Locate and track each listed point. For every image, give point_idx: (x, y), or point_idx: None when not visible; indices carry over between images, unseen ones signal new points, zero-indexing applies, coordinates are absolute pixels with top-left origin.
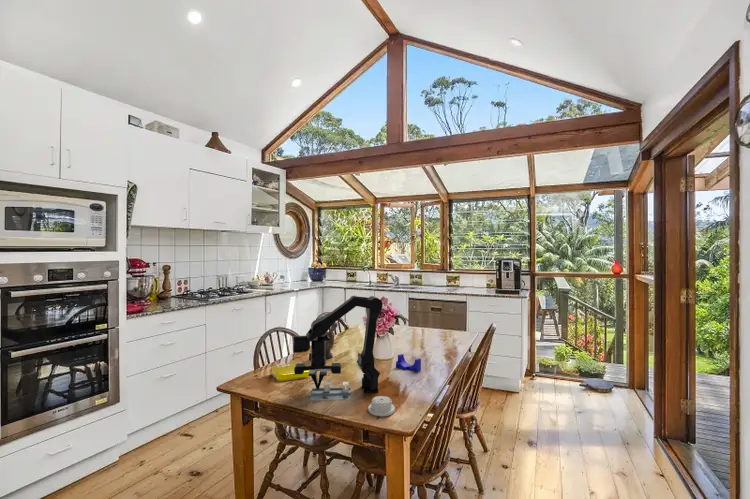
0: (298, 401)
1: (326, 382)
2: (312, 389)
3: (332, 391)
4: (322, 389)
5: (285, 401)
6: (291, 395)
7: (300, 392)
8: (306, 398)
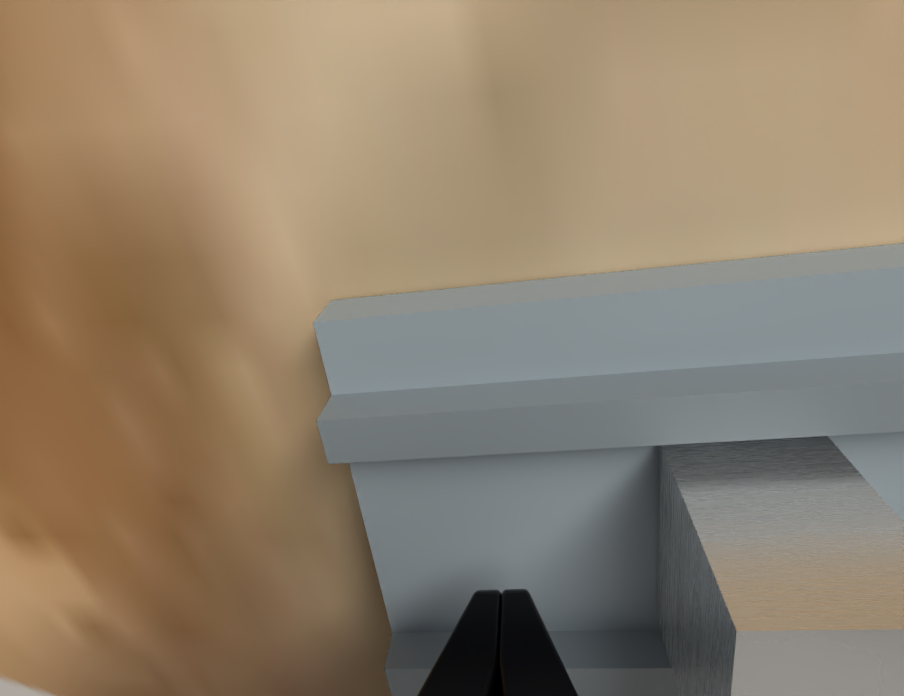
0: (250, 691)
1: (809, 667)
2: (343, 450)
3: (870, 483)
4: (600, 431)
5: (69, 683)
6: (23, 511)
7: (106, 387)
8: (332, 614)
